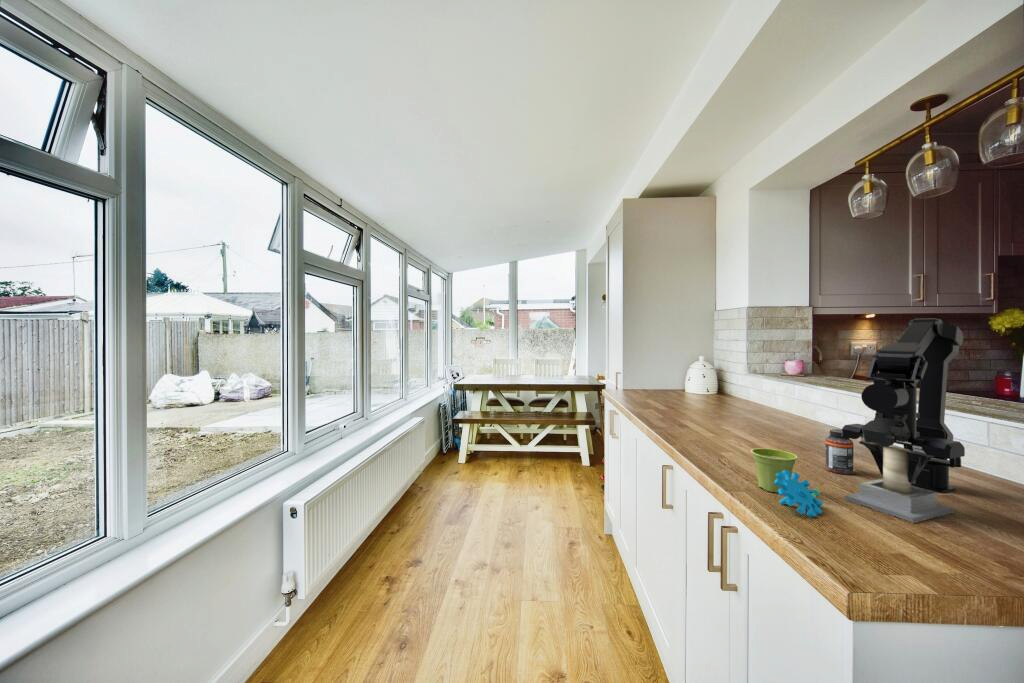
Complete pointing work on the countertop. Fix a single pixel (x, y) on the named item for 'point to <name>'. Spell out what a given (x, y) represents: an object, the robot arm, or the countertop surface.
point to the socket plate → (912, 517)
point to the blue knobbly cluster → (798, 493)
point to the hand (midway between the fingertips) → (897, 478)
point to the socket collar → (898, 497)
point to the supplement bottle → (838, 453)
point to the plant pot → (772, 466)
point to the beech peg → (896, 470)
